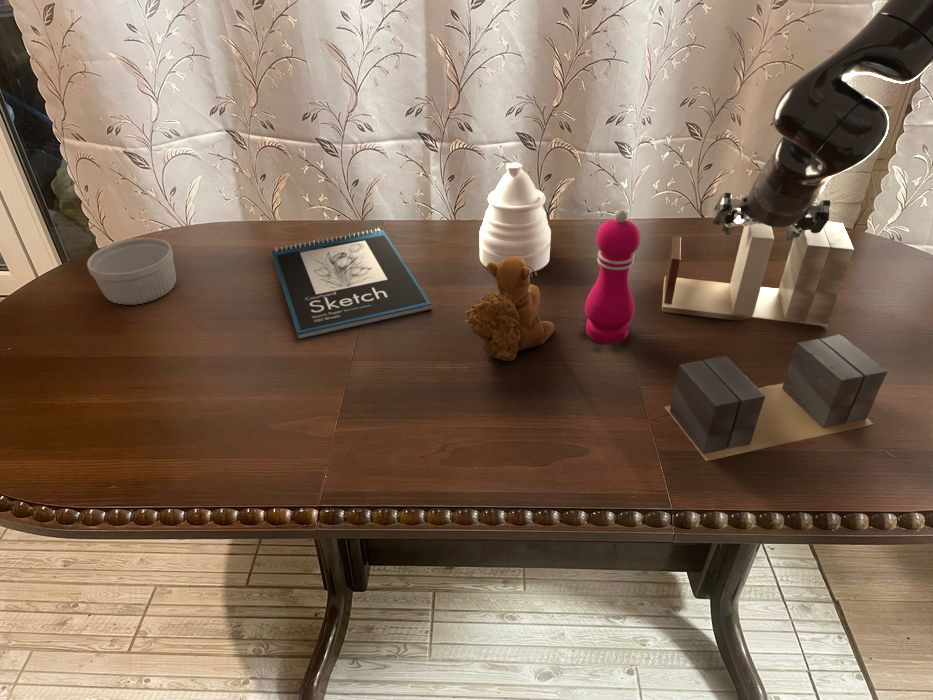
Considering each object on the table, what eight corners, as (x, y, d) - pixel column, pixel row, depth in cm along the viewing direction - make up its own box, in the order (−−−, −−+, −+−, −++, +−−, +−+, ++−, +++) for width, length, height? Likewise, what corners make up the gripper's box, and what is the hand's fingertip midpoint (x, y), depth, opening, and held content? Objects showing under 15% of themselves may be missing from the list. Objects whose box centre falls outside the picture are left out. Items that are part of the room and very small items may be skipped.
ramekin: (191, 294, 112) (180, 258, 108) (109, 319, 106) (94, 282, 102) (171, 264, 121) (160, 230, 117) (94, 286, 115) (79, 251, 111)
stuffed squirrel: (557, 328, 101) (562, 252, 93) (519, 379, 91) (521, 298, 83) (499, 313, 105) (499, 238, 97) (456, 360, 95) (453, 281, 87)
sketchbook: (299, 341, 100) (296, 329, 99) (272, 256, 123) (270, 246, 122) (431, 310, 106) (431, 299, 105) (382, 234, 129) (381, 225, 128)
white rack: (816, 298, 106) (842, 221, 98) (825, 331, 98) (854, 251, 90) (663, 281, 112) (676, 207, 104) (661, 311, 104) (675, 234, 96)
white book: (749, 286, 108) (768, 213, 100) (753, 315, 101) (774, 238, 93) (729, 284, 108) (747, 211, 101) (732, 313, 101) (751, 236, 94)
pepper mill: (619, 317, 103) (635, 197, 91) (638, 343, 97) (658, 218, 85) (575, 323, 102) (586, 202, 90) (592, 350, 96) (606, 224, 84)
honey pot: (542, 277, 114) (547, 178, 103) (471, 269, 117) (469, 171, 106) (555, 245, 123) (561, 151, 113) (489, 238, 127) (489, 146, 116)
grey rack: (816, 381, 89) (836, 329, 84) (871, 430, 81) (895, 376, 76) (662, 412, 84) (673, 359, 80) (704, 466, 77) (719, 412, 72)
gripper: (851, 163, 81) (812, 212, 97) (730, 155, 84) (711, 203, 100) (846, 220, 80) (807, 260, 96) (723, 210, 83) (705, 250, 99)
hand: (758, 231), depth 98 cm, fingers open, 8 cm apart
